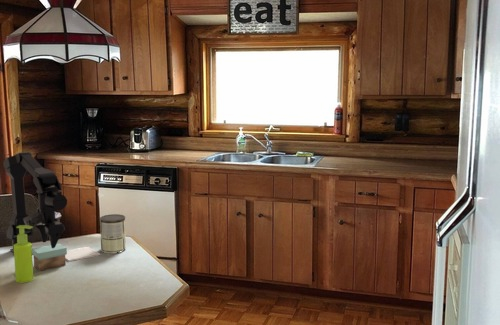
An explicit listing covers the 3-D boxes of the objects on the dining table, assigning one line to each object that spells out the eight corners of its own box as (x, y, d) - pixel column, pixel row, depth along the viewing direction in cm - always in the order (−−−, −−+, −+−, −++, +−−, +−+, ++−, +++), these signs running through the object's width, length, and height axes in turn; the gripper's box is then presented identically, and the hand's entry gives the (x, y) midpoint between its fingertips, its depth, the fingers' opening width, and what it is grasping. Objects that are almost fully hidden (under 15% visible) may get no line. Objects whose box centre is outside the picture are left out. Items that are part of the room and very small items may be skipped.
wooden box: (39, 270, 208) (38, 257, 207) (34, 266, 212) (33, 253, 212) (65, 265, 214) (65, 252, 213) (59, 261, 219) (59, 248, 218)
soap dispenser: (30, 283, 195) (27, 228, 192) (12, 282, 196) (9, 227, 193) (39, 277, 201) (36, 224, 198) (21, 276, 202) (18, 223, 199)
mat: (57, 253, 227) (57, 252, 227) (87, 247, 235) (87, 246, 235) (68, 261, 218) (68, 260, 218) (99, 255, 226) (99, 253, 226)
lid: (38, 260, 206) (38, 253, 206) (31, 255, 212) (31, 248, 211) (66, 254, 213) (66, 247, 213) (59, 249, 219) (59, 243, 218)
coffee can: (96, 249, 234) (95, 216, 232) (119, 244, 240) (118, 212, 238) (107, 255, 226) (106, 221, 224) (130, 250, 233) (129, 217, 230)
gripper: (16, 203, 211) (18, 243, 214) (33, 213, 197) (36, 255, 200) (46, 199, 218) (47, 237, 221) (64, 209, 204) (66, 249, 207)
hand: (48, 245), depth 212 cm, fingers open, 9 cm apart
